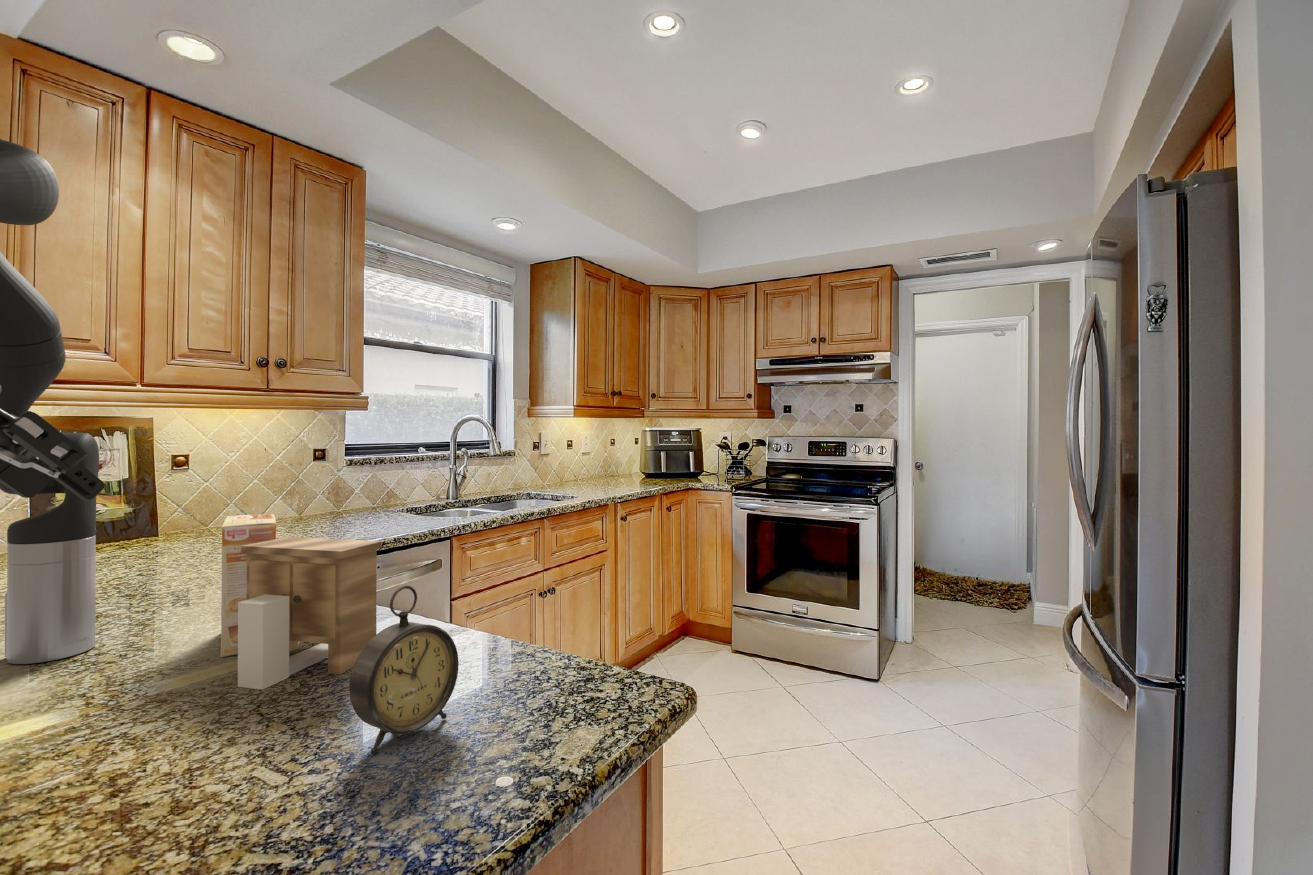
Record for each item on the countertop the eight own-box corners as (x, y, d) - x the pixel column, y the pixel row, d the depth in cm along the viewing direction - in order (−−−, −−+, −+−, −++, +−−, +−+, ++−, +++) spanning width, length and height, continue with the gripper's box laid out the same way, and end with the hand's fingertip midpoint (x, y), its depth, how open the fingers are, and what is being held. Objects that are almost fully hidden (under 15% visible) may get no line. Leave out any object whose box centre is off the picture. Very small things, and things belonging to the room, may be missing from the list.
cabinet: (237, 665, 82) (238, 546, 82) (288, 645, 90) (288, 536, 90) (338, 677, 78) (338, 551, 78) (381, 654, 86) (381, 541, 86)
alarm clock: (371, 764, 57) (371, 601, 57) (340, 749, 60) (341, 593, 60) (461, 719, 66) (461, 578, 66) (431, 707, 69) (431, 572, 69)
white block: (237, 686, 75) (238, 602, 75) (328, 646, 90) (328, 575, 90) (262, 689, 74) (262, 604, 74) (350, 648, 89) (350, 577, 89)
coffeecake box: (276, 648, 89) (276, 522, 89) (218, 658, 85) (219, 526, 85) (274, 623, 101) (275, 512, 101) (224, 630, 97) (224, 515, 97)
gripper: (2, 342, 50) (145, 467, 62) (-105, 348, 54) (49, 465, 65) (-89, 398, 45) (85, 523, 56) (-201, 401, 49) (-16, 518, 60)
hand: (66, 492), depth 61 cm, fingers open, 8 cm apart
